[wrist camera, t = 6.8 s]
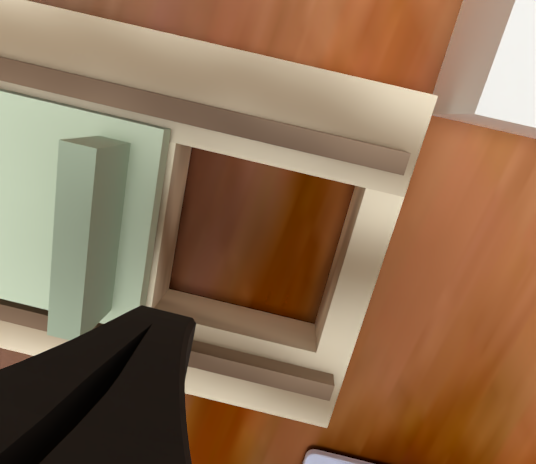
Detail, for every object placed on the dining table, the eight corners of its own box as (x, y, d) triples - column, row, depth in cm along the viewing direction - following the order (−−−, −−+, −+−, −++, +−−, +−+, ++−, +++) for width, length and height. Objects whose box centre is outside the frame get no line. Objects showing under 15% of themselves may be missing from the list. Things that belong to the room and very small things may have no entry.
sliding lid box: (324, 392, 21) (328, 441, 18) (-5, 311, 21) (-59, 346, 18) (418, 98, 16) (445, 94, 13) (0, 1, 17) (-71, -25, 14)
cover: (143, 322, 18) (108, 367, 14) (-42, 277, 18) (-116, 312, 14) (170, 128, 15) (136, 132, 12) (-45, 78, 15) (-135, 68, 12)
